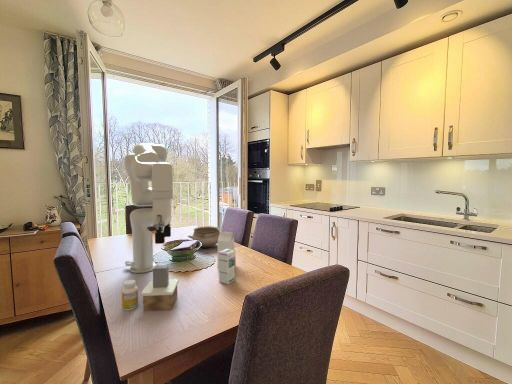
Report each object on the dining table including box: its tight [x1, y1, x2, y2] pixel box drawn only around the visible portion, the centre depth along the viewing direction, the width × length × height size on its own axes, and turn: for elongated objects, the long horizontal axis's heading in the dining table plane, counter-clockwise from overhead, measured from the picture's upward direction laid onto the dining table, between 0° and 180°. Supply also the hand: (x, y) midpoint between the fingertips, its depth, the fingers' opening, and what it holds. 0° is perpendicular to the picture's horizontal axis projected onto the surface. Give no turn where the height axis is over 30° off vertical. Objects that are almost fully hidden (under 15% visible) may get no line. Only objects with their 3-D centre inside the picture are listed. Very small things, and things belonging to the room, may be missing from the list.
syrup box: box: [218, 249, 237, 285], centre depth 115 cm, size 6×6×14 cm
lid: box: [140, 264, 180, 297], centre depth 94 cm, size 11×11×8 cm
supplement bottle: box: [121, 279, 139, 311], centre depth 92 cm, size 5×5×10 cm
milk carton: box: [217, 231, 235, 269], centre depth 132 cm, size 7×7×19 cm
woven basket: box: [187, 225, 221, 249], centre depth 168 cm, size 25×19×12 cm
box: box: [142, 285, 178, 312], centre depth 95 cm, size 10×10×6 cm
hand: (163, 239), depth 94 cm, fingers open, 9 cm apart
